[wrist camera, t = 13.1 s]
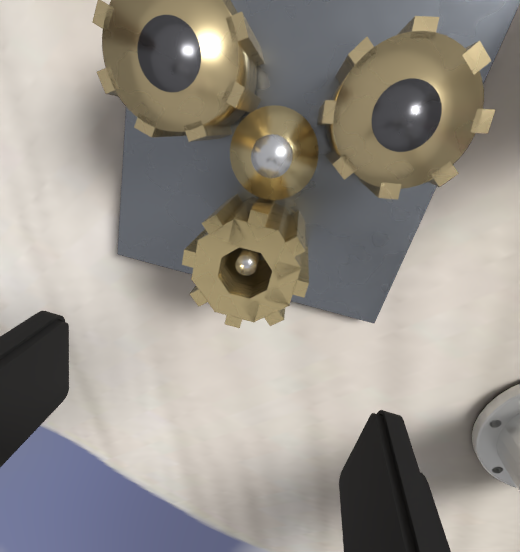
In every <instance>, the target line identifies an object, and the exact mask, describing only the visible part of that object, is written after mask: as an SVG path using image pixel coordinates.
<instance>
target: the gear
mask: <svg viewBox="0 0 520 552" xmlns="http://www.w3.org/2000/svg"><path fill="white" fill-rule="evenodd" d="M202 225H203V226H204V228H205V229H204V230H203V231H202V232H201V233H200V234H199V235H198V236H197V237H196V238H195V239H194V240H193V241H192V242H191V243H190V244H189V245H188V246H187V247H186V248H185V249H184V254H183V260H182V265H185V266H189V267H192V268H193V273H192V278H191V280H192V281H193V282H194V283H195V285H196V286H195V287H194V289H193V290H192V292H191V293H190V295H191V297H192V298H193V299H194V301H195V302H196V303H197V305H198V306H201V305H203V304H205V303H207V302H208V303H209V304H210V306H211V307H212V308H213V310H214V312H218V313H222V314H225V315H227V316H226V320H225V324H226V325H230V326H233V327H237V328H240V325H241V322H242V319H244V320H247V321H251V322H255V321H257V320H260V319H262V318H265V319H266V321H267V322H268V324H269V325H270V326H271V325H274V324H276V323H278V322H280V321H282V320H284V314H285V307H287V306H289V305H290V301H291V298H292V295H296V296H300V297H303V298H304V297H305V294H306V291H307V288H308V285H309V265H308V247H306V246H305V220H304V219H303V217H302V215H301V213H300V212H299V210H298V211H297V212H295V213H293V214H291V215H290V214H289V212H288V210H287V209H286V207H285V206H283V205H279V204H276V203H275V200H268V199H263V198H260V197H259V198H258V199H257V198H253V197H250V198H249V199H247V200H246V201H244V202H242V201H241V199H240V197H239V196H238V194H237V195H235V196H233V197H232V198H230V199H229V200H227V201H226V202H225V203H223V204H222V205H221V206H220V207H219V208H218V209H217V210H216V211H215V212H214V213H212V214H211V215H210V216H209V217H208V218H207V219H206V220H205V221H204V222H203V223H202ZM241 248H244V249H248V250H252V251H255V252H259V253H261V254H262V255H263V257H264V260H259V262H258V264H257V267H256V270H255V272H254V273H253V274H251V275H248V276H245V275H242V274H240V273H239V272H238V271H237V270H236V267H235V263H236V261H237V259H238V257H239V255H240V253H241V251H242V249H241Z"/></svg>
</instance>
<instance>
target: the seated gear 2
mask: <svg viewBox="0 0 520 552" xmlns="http://www.w3.org/2000/svg"><path fill="white" fill-rule="evenodd" d="M438 21H439V17H430V16H415V17H414V18H413V19H412V20H411V21H410V22H409V23H408V24H407V25H406V26H405V27H404V28H403V29H402V30H401V31H400V32H399V33H398V34H397V35H396V36H393V37H391V38H389V39H387V40H385V41H383V42H381V43H379V44H378V45H376V46H375V47H374V46H373V44H372V43H371V41H370V40H369V38H368V37H366V38H365V39H364V40H362V41H361V42H360V43H359V44H358V45H357V46H356V47H355V48H354V49H353V50H352V51H351V52H350V53H349V54H348V55H347V57H346V59H345V61H344V62H343V64H342V66H341V68H340V69H339V71H338V73H337V74H336V78H337V79H338V80H339V82H340V83H341V84H340V85H339V86H338V88H337V89H336V91H335V93H334V94H333V96H332V98H331V100H325V101H324V102H323V104H322V105H321V107H320V108H319V116H318V124H317V125H325V126H326V135H327V140H328V143H329V145H330V148H331V151H330V152H328V153H327V154H326V155H325V156H326V157H327V158H328V160H329V161H330V162H331V164H332V165H333V166H334V167H335V169H336V170H337V171H338V172H339V174H340V175H341V176H342V177H343V179H344V180H345V179H346V178H347V177H349V176H350V175H351V174H352V173H354V174H355V175H357V176H358V177H359V181H360V182H362V183H363V184H364V185H365V186H366V187H367V188H368V189H369V190H370V191H371V192H372V193H374V194H375V195H376V196H377V197H378V198H386V199H398V198H399V193H400V189H403V188H410V187H414V186H418V185H421V184H423V183H426V182H429V183H431V184H433V185H436V186H438V187H441V186H442V185H443V184H445V183H446V182H448V181H449V180H450V179H452V178H453V177H455V176H456V175H457V174H459V173H458V172H457V170H456V169H455V167H454V166H453V164H454V163H455V162H456V161H457V160H458V159H459V158H460V157H461V156H462V154H463V153H464V152H465V151H466V149H467V147H468V146H469V144H470V143H471V141H472V139H473V137H474V135H475V133H484V134H488V132H489V128H490V125H491V122H492V119H493V115H494V112H495V110H493V109H483V102H484V89H483V83H482V78H481V74H480V70H481V69H482V68H483V67H484V66H486V65H487V64H488V63H489V62H491V59H490V57H489V56H488V54H487V52H486V50H485V49H484V47H483V45H482V44H481V42H480V41H478V42H476V43H474V44H472V45H470V46H468V47H466V48H464V47H463V46H462V45H461V44H460V43H458V42H457V41H455V40H454V39H452V38H450V37H448V36H446V35H444V34H440V33H437V32H436V30H437V26H438Z"/></svg>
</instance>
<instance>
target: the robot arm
mask: <svg viewBox="0 0 520 552" xmlns="http://www.w3.org/2000/svg"><path fill="white" fill-rule="evenodd" d="M68 390H69V326H68V323H66V322H65V319H64V317H63V316H60V315H57V314H53V313H50V312H47V311H40V312H38V313H37V314H35V315H34V316H32V317H30V318H29V319H27V320H26V321H24V322H23V323H21V324H19V325H18V326H16V327H15V328H13V329H12V330H10V331H8V332H7V333H5V334H4V335H2V336H1V337H0V467H1V466H2V465H3V464H4V463H5V462H6V461H7V460H8V459H9V458H10V457H11V455H12V454H13V453H14V452H15V451H16V450H17V449H18V448H19V447H20V446H21V445H22V444H23V443H24V442H25V441H26V440H27V439H28V437H30V435H31V434H32V433H33V432H34V431H35V430H36V429H37V428H38V427H39V426H40V425H41V424H42V423H43V422H44V421H45V420H46V419H47V418H48V416H49V415H50V414H51V413H52V412H53V411H54V410H55V409H56V408H57V407H58V406H59V405H60V404H61V403H62V402H63V400H64V399H65V398H66V396H67V394H68ZM472 445H473V448H474V450H475V453H476V455H477V457H478V459H479V460H480V462H481V464H482V466H483V467H484V468H485V469H486V471H487V472H488V473H489V474H490V475H492V476H493V477H495V478H496V479H498V480H499V481H501V482H503V483H506V484H508V485H510V486H513V487H516V488H518V490H519V492H520V384H518V385H515V386H513V387H511V388H509V389H508V390H506V391H504V392H503V393H501V394H500V395H498V396H497V397H496V398H494V399H493V400H492V401H491V402H490V403H489V404H488V405H487V406H486V407H485V408H484V409H483V411H482V412H481V413H480V414H479V416H478V418H477V420H476V422H475V424H474V427H473V432H472ZM339 489H340V503H341V517H342V530H343V544H344V552H451V551H450V548H449V545H448V542H447V539H446V536H445V533H444V530H443V527H442V524H441V521H440V518H439V515H438V512H437V509H436V506H435V503H434V499H433V496H432V493H431V490H430V487H429V484H428V482H427V480H426V478H425V476H424V475H423V474H422V473H420V471H419V468H418V465H417V462H416V458H415V455H414V452H413V449H412V446H411V443H410V439H409V436H408V433H407V430H406V427H405V424H404V421H403V418H402V417H401V416H400V415H396V414H393V413H389V412H386V411H383V410H380V411H379V412H378V413H377V414H374V413H372V414H371V415H370V417H369V419H368V421H367V423H366V425H365V427H364V429H363V431H362V433H361V435H360V437H359V439H358V441H357V443H356V444H355V446H354V448H353V450H352V452H351V454H350V456H349V458H348V460H347V462H346V464H345V466H344V468H343V470H342V472H341V475H340V480H339Z"/></svg>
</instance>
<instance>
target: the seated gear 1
mask: <svg viewBox="0 0 520 552" xmlns="http://www.w3.org/2000/svg"><path fill="white" fill-rule="evenodd" d="M93 23H94V24H96V25H98V26H99V27H101V28H103V34H102V49H103V56H104V62H105V66H106V68H105V69H102V70H100V71H98V72H97V74H98V76H99V79H100V81H101V84H102V86H103V88H104V91H105V93H106V94H110V95H115V96H119V98H120V99H121V101H122V102H123V103H124V105H125V106H126V107H127V108H128V109H129V110H130V111H131V112H132V113H133V114H134V115H135V116H137V120H136V123H135V126H134V128H136V129H138V130H139V131H141V132H143V133H145V134H146V135H148V136H150V137H171V136H187V138H188V141H189V142H192V141H202V140H212V139H220V138H223V137H226V136H229V135H232V132H231V129H230V126H231V125H232V124H234V123H235V122H237V121H238V120H239V119H240V118H241V117H242V116H243V115H244V114H245V112H246V111H247V112H250V113H251V112H253V111H255V110H256V109H257V107H258V105H259V103H260V101H261V99H260V98H259V97H258V96H256V95H255V90H256V84H257V66H260V65H262V64H265V63H264V59H263V55H262V51H261V47H260V45H259V43H258V41H257V39H256V37H255V35H254V33H253V31H252V29H251V28H250V26H249V24H248V22H247V20H246V18H245V16H244V14H243V12H239V13H238V12H237V11H236V9H235V7H234V5H233V4H232V2H231V0H111V2H110V4H109V5H108V4H106V3H105V2H103V1H101V0H98V2H97V6H96V10H95V14H94V18H93Z"/></svg>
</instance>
